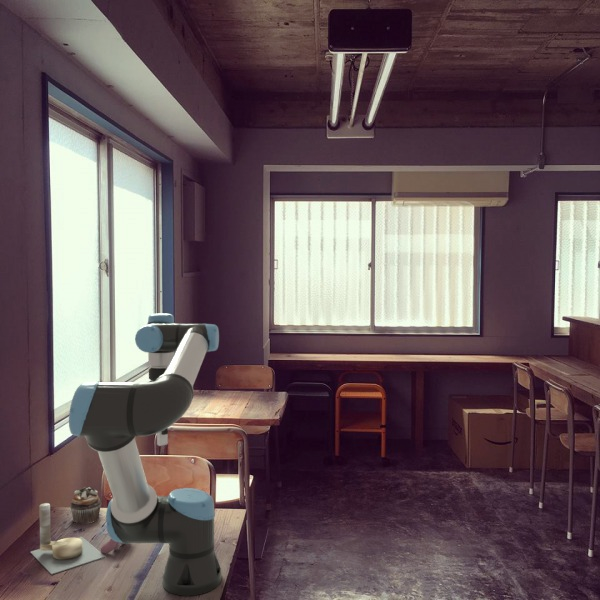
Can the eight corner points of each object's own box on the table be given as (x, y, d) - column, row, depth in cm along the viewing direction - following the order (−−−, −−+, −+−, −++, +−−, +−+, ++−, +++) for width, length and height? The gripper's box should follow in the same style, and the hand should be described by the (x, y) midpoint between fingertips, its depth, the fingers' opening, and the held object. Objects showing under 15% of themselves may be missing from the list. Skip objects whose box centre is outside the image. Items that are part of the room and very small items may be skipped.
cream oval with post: (87, 547, 178) (86, 500, 177) (74, 560, 170) (74, 511, 169) (47, 545, 179) (46, 499, 178) (33, 558, 171) (32, 510, 170)
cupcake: (63, 521, 197) (63, 491, 197) (87, 510, 206) (86, 481, 205) (84, 527, 193) (84, 496, 192) (107, 516, 201) (107, 486, 201)
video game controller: (111, 560, 174) (121, 540, 173) (98, 552, 175) (107, 532, 174) (127, 545, 184) (137, 526, 183) (115, 537, 185) (124, 518, 184)
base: (105, 557, 173) (105, 555, 173) (51, 574, 163) (51, 573, 163) (81, 537, 186) (81, 536, 186) (30, 552, 176) (30, 551, 176)
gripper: (184, 367, 178) (184, 446, 180) (162, 362, 188) (162, 437, 189) (161, 370, 173) (162, 452, 175) (139, 364, 183) (140, 442, 184)
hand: (162, 444), depth 182 cm, fingers closed
